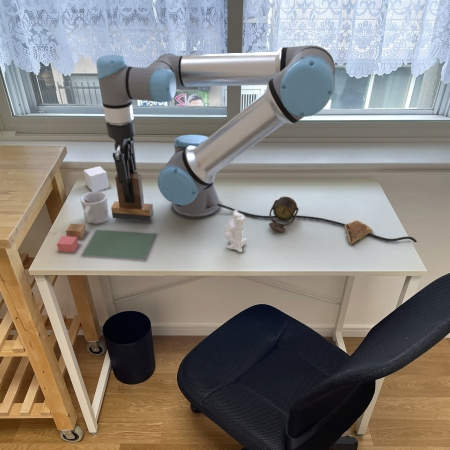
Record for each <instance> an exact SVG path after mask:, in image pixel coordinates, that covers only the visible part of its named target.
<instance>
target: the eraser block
mask: <svg viewBox="0 0 450 450" xmlns="http://www.w3.org/2000/svg"><path fill="white" fill-rule="evenodd" d="M79 245H80V243H79V239H77V237H70V236H67V235H61V237H60V238H59V240H58V241H57V242H56V246H57V251H58V252H63V253H75V251H76V250H77V248H78V246H79Z"/></svg>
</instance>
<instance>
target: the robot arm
mask: <svg viewBox="0 0 450 450" xmlns="http://www.w3.org/2000/svg"><path fill="white" fill-rule="evenodd" d="M95 63H96V71H97V80H98V84H99V91H100V96H101V100H102V102H101V103H102V107H101V111H102V112H103V114H104V119H105V122H106V123H105V127H106V132H107V136H108V138H110V139H112V140H114V150H115V152H112V158H113V160H114V161H113V162H114V164H115V170H116V175H118V180H119V184H122V186H123V192H124V198H125V203H134V202H135V201H134V194H133V188H132V182H130V173H131V174H139V172H138V171H137V162H136V153H135V135H136V125H135V121H134V119H135V117H134V110H133V102H132V100H135V101H144V102H145V101H146V102H155V103H170V102H172V101H173V100H174V99H175V96H176V94H177V93H176V92H177V88H181V87H183V88H185V87H230V86H232V87H236V86H237V87H238V86H239V87H240V86H241V87H242V86H266V90H265V92H264V93H263V94H261V95H260V96H258V97H257V98H256V99H254V100H253V102H251V103H250V104H248V105H247V106H246V107H245V108H244V109H242V110H241V111H240V112H239V113H238V114H236V115H235V116H234V117H233V118H232V119H230V120H229V121H227V122H226V123H225V124H224V125H222V126H221V127H220V128H219V129H218V130H216V131H214V133H212V134H211V135H210V136H206V135H201V134H184V135H183V134H182V135H180V136H177V137H176V138H175V139H174V144H173V147H174V153H173V155H172V156H171V157H170V159H169V160H168V161H167V163H166V164H165V165H164V167H163V168H162V169H161V170H160V172H159V175H158V177H157V186H158V187H157V188H158V190H159V192H160V194H161V196H162V197H164V199H165V200H166V201H168V202H170V203H171V204H172V205H173V210H174V211H175V212H176V213H177V214H179V215H181V216H182V217H183V216H184V217H187V218H203V217H209V216H212V215H213V214H215V213H217V211H219V210H220V209H219V208H220V207H221V208H223V209H227V210H229V211H232V212H233V210H237V211H238V213H241V214H243V215H244V216H248V217H253V218H258V219H259V218H260V219H270V216H269V215H261V214H255V213H249V212H247V211H246V212H245V211H243V210H239V209H235V208H233V207H231V206H227V205H225V204H222V203H220V198H219V194H218V192H217V191H216V187H215V184H214V182H215V181H216V174H217V173H218V172H220V171H221V170H222V169H224V168H225V167H226V166H228V165H229V164H230V163H232V162H234V161H235V160H236V159H238V158H239V157H241V155H243V154H244V153H246V152H247V151H248V150H250V149H251V148H253V147H254V146H255V145H256V144H258V143H260V142H261V141H262V140H264V139H265V138H266V137H268V136H269V135H271V134H272V133H274V132H275V131H276V130H277V129H279V128H280V127H282V126H283V125H285V124H290V125H295V124H296V123H298V122H299V121H301V120H302V119H303V118H306V117H312V116H314V115H316V114H318V113H319V112H321V111H322V110H323V109H324V108H325V107H326V106H327V104H328V103H329V102H330V100H331V99H332V96H333V93H334V90H335V85H336V84H335V82H336V79H335V78H336V77H335V75H336V65H335V64H336V63H335V61H334V58H333V56H332V55H331V53H330V52H329V51H328V50H327V49H325V48H324V47H322V46H319V45H314V44H313V45H312V44H311V45H308V44H307V45H299V46H283V47H280V48H279V49H278V50H277V51H272V52H270V51H269V52H243V53H216V54H215V53H214V54H212V53H211V54H187V55H186V54H183V55H178V54H176V53H174V52H167V53H163V54H162V55H160V56H159V57H158V58H157V59H155V60H154V61H153V62H152V63H150V64H149V65H147V66H146V67H142V66H141V67H139V66H137V67H136V66H129V65H128V62H127V59H126V58H125V56H123V55H119V54H107V55H102V56H100V57H98V58H97V60H96V62H95ZM294 215H295V214H294ZM294 215H293V217H292V219H293V218H294ZM271 216H272V218H273V219H278V218H277V217H276V216H275V215H271ZM295 219H309V220H316V221H321V222H326V223H330V224H335V225H338V226H341V227H345V224H346V223H343V222H339V221H335V220H331V219H329V218H328V219H327V218H322V217H316V216H309V215H296V217H295ZM367 235H368V236H370V237H372V238H374V239H375V238H376V239H378V240H381V241H386V242H397V241H402V240H411V241H413V242H414V243H418V241H417V239H416V238H414V237H412V236H400V237H395V238H387V237H383V236H379V235H376V234H374V233H372V232H371V233H368V234H367Z"/></svg>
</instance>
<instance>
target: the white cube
mask: <svg viewBox="0 0 450 450" xmlns="http://www.w3.org/2000/svg"><path fill="white" fill-rule="evenodd" d="M83 173H84V178H85V182H86V187H87V188H88V189H89V190H90V191H91V192H93V191H99V192H101V191H104V190H108V189H110V184H109V178H108V172H107V171H106V170H105V169H104V168H103V167H102V166H100V165H98V166H94V167H91V168H86V169H83Z"/></svg>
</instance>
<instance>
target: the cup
mask: <svg viewBox="0 0 450 450" xmlns="http://www.w3.org/2000/svg"><path fill="white" fill-rule="evenodd" d="M79 198H80V199H79V201H80V203H81V207H82V209H83V218H84V221H85V222H86V223H89V224H90V223H91V224H94V225H97V224H98V225H99V224H102V223H105V222H107V220H108V218H109V207H108V206H109V204H108V196H107V194H106V193H105V192H103V191H89V192H86V193H84V194H82V195H81V196H80V197H79Z"/></svg>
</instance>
